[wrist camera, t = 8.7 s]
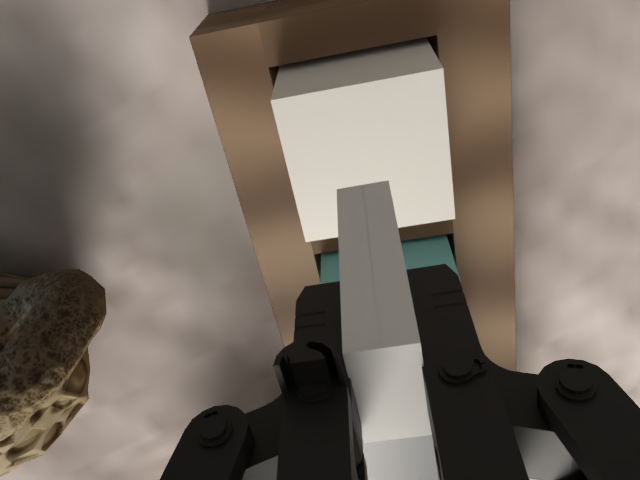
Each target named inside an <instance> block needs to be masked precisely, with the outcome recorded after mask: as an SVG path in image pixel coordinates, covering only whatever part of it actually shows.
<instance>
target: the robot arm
mask: <svg viewBox="0 0 640 480" xmlns="http://www.w3.org/2000/svg"><path fill="white" fill-rule="evenodd" d="M337 216H338V244H339V272H340V281H337V282H330V283H323V284H317V285H310V286H305V287H304V289H303V290H302V292H301V294H300V295H299V297H298V298H297V300H296V310H295V326H294V328H295V331H294V341H293V342H292V343H291V344H289V345H287V346H286V347H284V348H283V349H282V350H281V352H280V353H279V354H278V355H277V356H276V359H275V362H274V365H273V367H274V370H275V373H276V376H277V379H278V382H279V385H280V388H281V391H282V394H281V395H280V396H279V397H278V398H276V399H275V400H274V401H273V402H271V403H269V404H267V405H265V406H263V407H261V408H258V409H256V410H254V411H251V412H249V413H246V414H244V413H243V412H242V411H241V410H240V409H239V408H237V407H233V406H229V405H222V406H214V407H212V408H209V409H207V410H205V411H203V412H201V413H200V414H199V415H197V416H196V417H195V418H194V419H192V421H191V422H190V423H189V425H188V426H187V428H186V429H185V431H184V433H183V435H182V437H181V439H180V441H179V443H178V445H177V447H176V448H175V450H174V452H173V454H172V456H171V458H170V460H169V462H168V464H167V466H166V468H165V470H164V472H163V474H162V476H161V478H160V480H368V476H367V465H366V461H365V457H364V453H363V441H364V443H368V442H377V441H385V440H394V439H402V438H411V437H419V436H427V435H432V437H433V443H434V450H435V458H436V465H437V472H438V480H529V478H530V479H535V480H640V408H639V407H638V406H637V405H636V404H635V402H634V401H633V400H632V399H631V398H630V397H629V396H628V395H627V394H626V393H625V392H624V391H623V389H622V388H621V387H620V386H619V385H618V384H617V383H616V382H615V381H614V380H613V379H612V378H611V376H610V375H609V374H607V373H606V372H605V371H603V370H602V369H601V368H600V367H598V366H596V365H594V364H591V363H589V362H586V361H584V360H575V359H564V360H558V361H554V362H552V363H550V364H548V365H547V366H545V367H544V368H543V369H542V370H541V372H540V373H539V375H537V374H529V373H521V372H516V371H511V370H507V369H505V368H503V367H500V366H498V365H497V364H495V363H494V362H492V361H491V360H490V359H489V358H488V357H487V356H486V355H485V354H484V352H483V350H482V348H481V345H480V342H479V339H478V336H477V333H476V330H475V326H474V323H473V320H472V317H471V314H470V311H469V308H468V305H467V301H466V298H465V295H464V293H463V289H462V286H461V283H460V279H459V276H458V275H457V274H456V273H455V272H454V271H453V270H452V269H451V268H450V267H449V266H447V265H446V264H440V265H434V266H427V267H421V268H414V269H407V270H406V266H405V261H404V256H403V251H402V246H401V241H400V236H399V231H398V226H397V221H396V215H395V210H394V205H393V200H392V195H391V190H390V185H389V180H388V181H382V182H376V183H370V184H364V185H358V186H353V187H347V188H341V189H337ZM362 437H363V440H362Z"/></svg>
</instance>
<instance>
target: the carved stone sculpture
mask: <svg viewBox="0 0 640 480" xmlns="http://www.w3.org/2000/svg"><path fill="white" fill-rule="evenodd" d="M105 315H106V298H105V289H104V288H103V287H102V286H101V285H100V284H99V283H98V282H97V281H96V280H95V279H93V278H92V276H90V275H88V274H87V273H85V272H83V271H81V270H80V269H79V270H63V271H50V272H47V273H44V274H41V275H38V276H35V277H33V278H25V277H20V276H16V275H12V274H7V273H0V476H2V475H5V474H7V473H9V472H11V471H12V470H14V469H15V468H17V467H18V466H20V465H21V464H22V463H24V462H27V461H29V460H32V459H34V458H37V457H39V456H42V455H44V454H45V452H46V451H47V450H48V449H49V448H50V446H51V445H52V444H53V443H54V442H55V441H56V439H57V438H58V437H59V436H60V435H61V433H62V432H63V431H64V429H65V428H66V427H67V425H68V424H69V423H70V421H71V420H72V419H73V418H74V416H75V415H76V414H77V413H78V411H79V410H80V409H81V408H82V406H83V405H84V404H85V403H86V401H87V400H88V399H89V397H88V383H89V374H90V365H89V355H88V345H89V343H90V342H91V340H92V339H93V337H94V336H95V335H96V333H97V332H98V331H99V330H100V328H101V326H102V323H103V320H104V318H105Z"/></svg>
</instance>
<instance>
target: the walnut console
mask: <svg viewBox="0 0 640 480" xmlns="http://www.w3.org/2000/svg"><path fill="white" fill-rule="evenodd" d="M424 37H426V38H427V40H428V42H429V43H430V45H431V47H432V49H433V51H434V52H435V54H436V56H437V58H438V60H439V61H440V63H441V65H442V67H443V70H444V83H445V95H446V107H447V120H448V132H449V145H450V157H451V170H452V182H453V194H454V207H455V219H452V220H445V221H439V222H432V223H426V224H420V225H413V226H407V227H400V228H398V231H399V236H400V241H404V240H410V239H417V238H423V237H430V236H437V235H443V234H446V235H447V239H448V242H449V245H450V248H451V251H452V254H453V258H454V261H455V264H456V267H457V270H458V274H459V277H460V283H461V286H462V289H463V293H464V295H465V298H466V301H467V305H468V308H469V311H470V314H471V317H472V320H473V323H474V326H475V330H476V333H477V336H478V339H479V342H480V345H481V348H482V350H483V352H484V354H485V355H486V356H487V357H488V358H489V359H490V360H491V361H492V362H494V363H495V364H497V365H498V366H500V367H503V368H505V369H507V370H511V371H516V335H515V279H514V223H513V167H512V111H511V56H510V0H277V1H272V2H268V3H263V4H258V5H253V6H248V7H243V8H239V9H234V10H229V11H224V12H219V13H214V14H209V15H207V17H206V18H205V19H204V20H203V21H202V22H201V24H200V25H199V26H198V27H197V28H196V30H195V31H194V32H193V33H192V34H191V35H190V37H189V38H190V41H191V45H192V48H193V51H194V54H195V58H196V61H197V64H198V67H199V71H200V74H201V77H202V80H203V84H204V87H205V90H206V93H207V97H208V100H209V103H210V106H211V110H212V113H213V116H214V119H215V123H216V126H217V129H218V132H219V136H220V139H221V142H222V145H223V149H224V152H225V155H226V158H227V162H228V165H229V168H230V171H231V175H232V178H233V181H234V185H235V188H236V191H237V194H238V198H239V201H240V204H241V207H242V211H243V214H244V217H245V220H246V224H247V227H248V230H249V233H250V237H251V240H252V243H253V246H254V250H255V253H256V256H257V259H258V263H259V266H260V269H261V272H262V276H263V279H264V282H265V285H266V289H267V292H268V295H269V298H270V302H271V305H272V308H273V311H274V315H275V318H276V321H277V324H278V328H279V331H280V334H281V337H282V341H283V344H284V347H286V346H287V345H289V344H291V343H292V342H293V341H294V331H295V328H294V326H295V310H296V300H297V298H298V297H299V295H300V294H301V292H302V290H303V289H304V287H305V286H310V285H317V284H320V277H321V253H325V252H332V251H338V250H339V244H338V237H336V238H329V239H323V240H317V241H310V242H305V238H304V234H303V230H302V226H301V221H300V217H299V213H298V209H297V205H296V201H295V197H294V193H293V189H292V185H291V181H290V177H289V173H288V169H287V165H286V161H285V157H284V153H283V149H282V145H281V141H280V137H279V133H278V129H277V125H276V121H275V117H274V113H273V109H272V105H271V101H270V100H271V96H272V93H273V89H274V85H275V81H276V77H277V74H278V70H279V66H280V65H284V64H289V63H295V62H300V61H305V60H310V59H315V58H320V57H326V56H331V55H336V54H341V53H346V52H352V51H357V50H362V49H367V48H372V47H377V46H383V45H388V44H393V43H398V42H403V41H408V40H414V39H419V38H424Z"/></svg>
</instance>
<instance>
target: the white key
mask: <svg viewBox="0 0 640 480" xmlns="http://www.w3.org/2000/svg"><path fill="white" fill-rule="evenodd" d="M270 101H271V105H272V109H273V113H274V117H275V121H276V125H277V129H278V133H279V137H280V141H281V145H282V149H283V153H284V157H285V161H286V165H287V169H288V173H289V177H290V181H291V185H292V189H293V193H294V197H295V201H296V205H297V209H298V213H299V217H300V221H301V226H302V230H303V234H304V238H305V242H310V241H317V240H323V239H329V238H336V237H338V216H337V189H341V188H347V187H353V186H358V185H364V184H370V183H376V182H382V181H388V180H389V185H390V190H391V195H392V200H393V205H394V210H395V215H396V221H397V226H398V228H400V227H407V226H413V225H420V224H426V223H432V222H439V221H445V220H452V219H455V207H454V194H453V182H452V170H451V157H450V145H449V132H448V120H447V107H446V95H445V83H444V70H443V67H442V65H441V63H440V61H439V60H438V58H437V56H436V54H435V52H434V51H433V49H432V47H431V45H430V43H429V42H428V40H427V38H426V37H424V38H419V39H414V40H408V41H403V42H398V43H393V44H388V45H383V46H377V47H372V48H367V49H362V50H357V51H352V52H346V53H341V54H336V55H331V56H326V57H320V58H315V59H310V60H305V61H300V62H295V63H289V64H284V65H280V66H279V70H278V74H277V77H276V81H275V85H274V89H273V93H272V96H271V100H270Z"/></svg>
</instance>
